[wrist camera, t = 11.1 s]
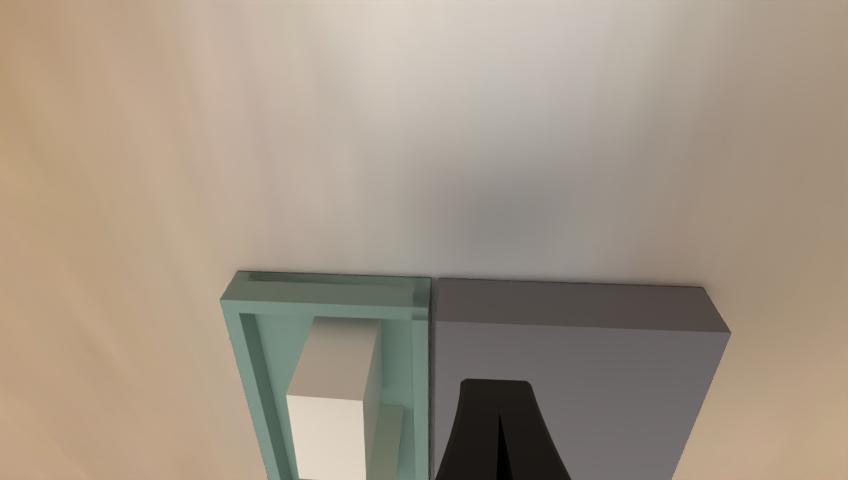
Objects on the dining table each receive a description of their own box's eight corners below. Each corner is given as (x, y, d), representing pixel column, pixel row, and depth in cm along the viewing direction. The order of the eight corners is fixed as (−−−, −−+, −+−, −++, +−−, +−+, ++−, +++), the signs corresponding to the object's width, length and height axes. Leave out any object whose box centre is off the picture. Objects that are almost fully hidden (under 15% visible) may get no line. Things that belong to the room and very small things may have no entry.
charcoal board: (703, 287, 20) (731, 332, 18) (630, 496, 27) (644, 546, 25) (438, 278, 21) (435, 321, 18) (435, 485, 28) (433, 532, 26)
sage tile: (392, 501, 20) (326, 494, 20) (387, 562, 22) (328, 555, 22) (403, 405, 24) (348, 400, 24) (398, 466, 26) (348, 461, 26)
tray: (430, 278, 21) (428, 307, 19) (430, 485, 28) (428, 518, 26) (237, 271, 21) (219, 299, 19) (286, 476, 28) (276, 509, 27)
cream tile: (362, 401, 17) (285, 395, 17) (366, 484, 19) (299, 478, 20) (381, 310, 21) (318, 306, 21) (382, 389, 23) (326, 385, 23)
